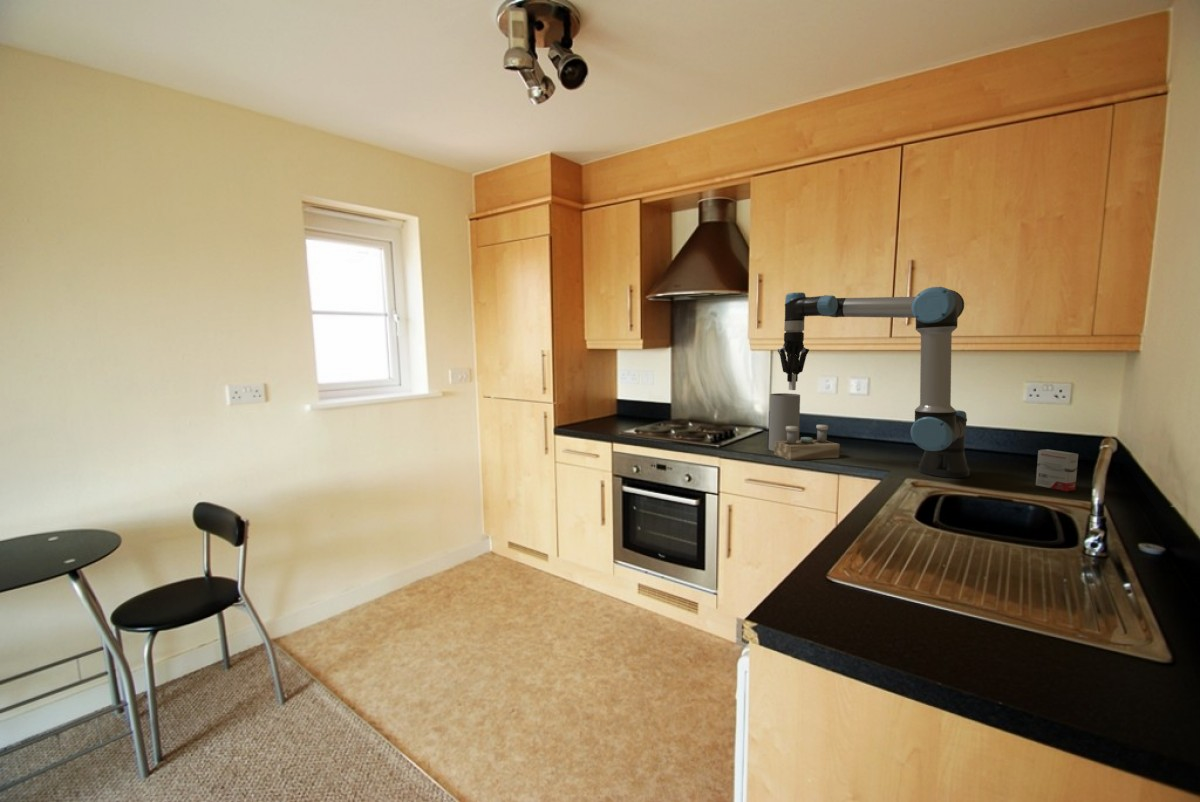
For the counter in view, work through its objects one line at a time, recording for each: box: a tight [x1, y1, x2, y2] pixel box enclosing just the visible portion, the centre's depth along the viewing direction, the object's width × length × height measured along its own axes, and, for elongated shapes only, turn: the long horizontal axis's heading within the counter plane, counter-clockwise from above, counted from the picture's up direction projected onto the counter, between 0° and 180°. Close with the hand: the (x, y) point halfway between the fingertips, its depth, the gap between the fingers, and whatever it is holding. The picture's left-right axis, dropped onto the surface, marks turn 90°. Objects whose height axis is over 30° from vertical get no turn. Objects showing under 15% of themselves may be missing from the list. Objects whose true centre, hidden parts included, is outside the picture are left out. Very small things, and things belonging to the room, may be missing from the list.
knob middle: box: [800, 436, 813, 444], centre depth 211 cm, size 5×5×8 cm
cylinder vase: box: [768, 392, 801, 452], centre depth 223 cm, size 12×12×25 cm
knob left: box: [786, 426, 798, 445], centre depth 209 cm, size 5×5×8 cm
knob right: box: [815, 424, 829, 443], centre depth 211 cm, size 5×5×8 cm
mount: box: [773, 438, 841, 461], centre depth 211 cm, size 12×22×6 cm, turn 101°
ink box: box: [1035, 449, 1079, 492], centre depth 161 cm, size 8×5×12 cm, turn 23°
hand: (792, 389), depth 207 cm, fingers closed
